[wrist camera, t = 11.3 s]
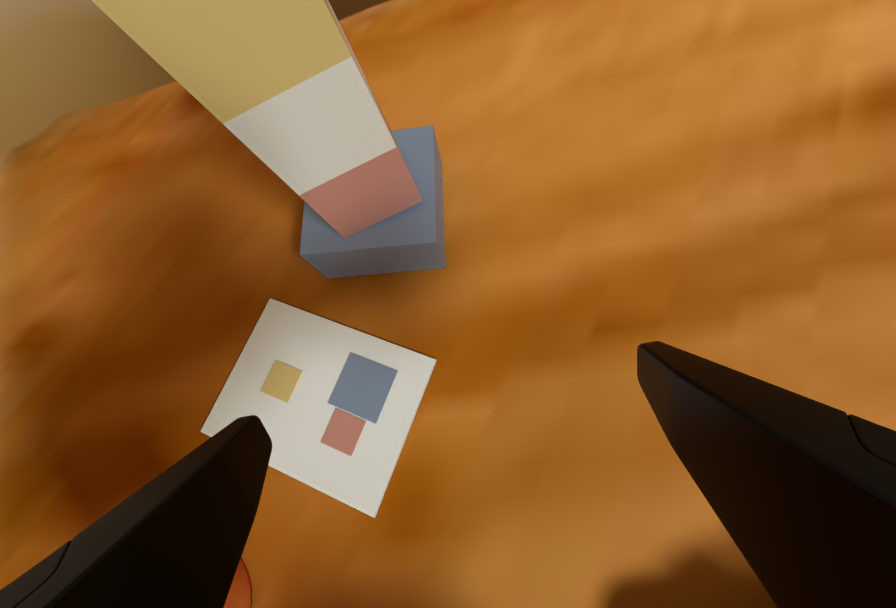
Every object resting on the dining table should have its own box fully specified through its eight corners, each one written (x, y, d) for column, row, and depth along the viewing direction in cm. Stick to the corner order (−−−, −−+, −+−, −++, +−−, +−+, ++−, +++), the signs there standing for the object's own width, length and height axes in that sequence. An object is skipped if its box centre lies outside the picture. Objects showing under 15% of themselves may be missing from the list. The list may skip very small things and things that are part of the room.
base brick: (446, 270, 25) (436, 242, 21) (329, 280, 26) (299, 255, 22) (442, 166, 28) (433, 125, 24) (335, 179, 29) (309, 141, 25)
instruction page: (436, 360, 23) (435, 359, 23) (375, 517, 21) (373, 518, 20) (271, 299, 26) (269, 297, 25) (202, 431, 24) (199, 431, 23)
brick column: (423, 200, 22) (262, -123, 9) (344, 238, 22) (74, -16, 9) (393, 135, 23) (220, -222, 10) (321, 172, 24) (61, -128, 11)
